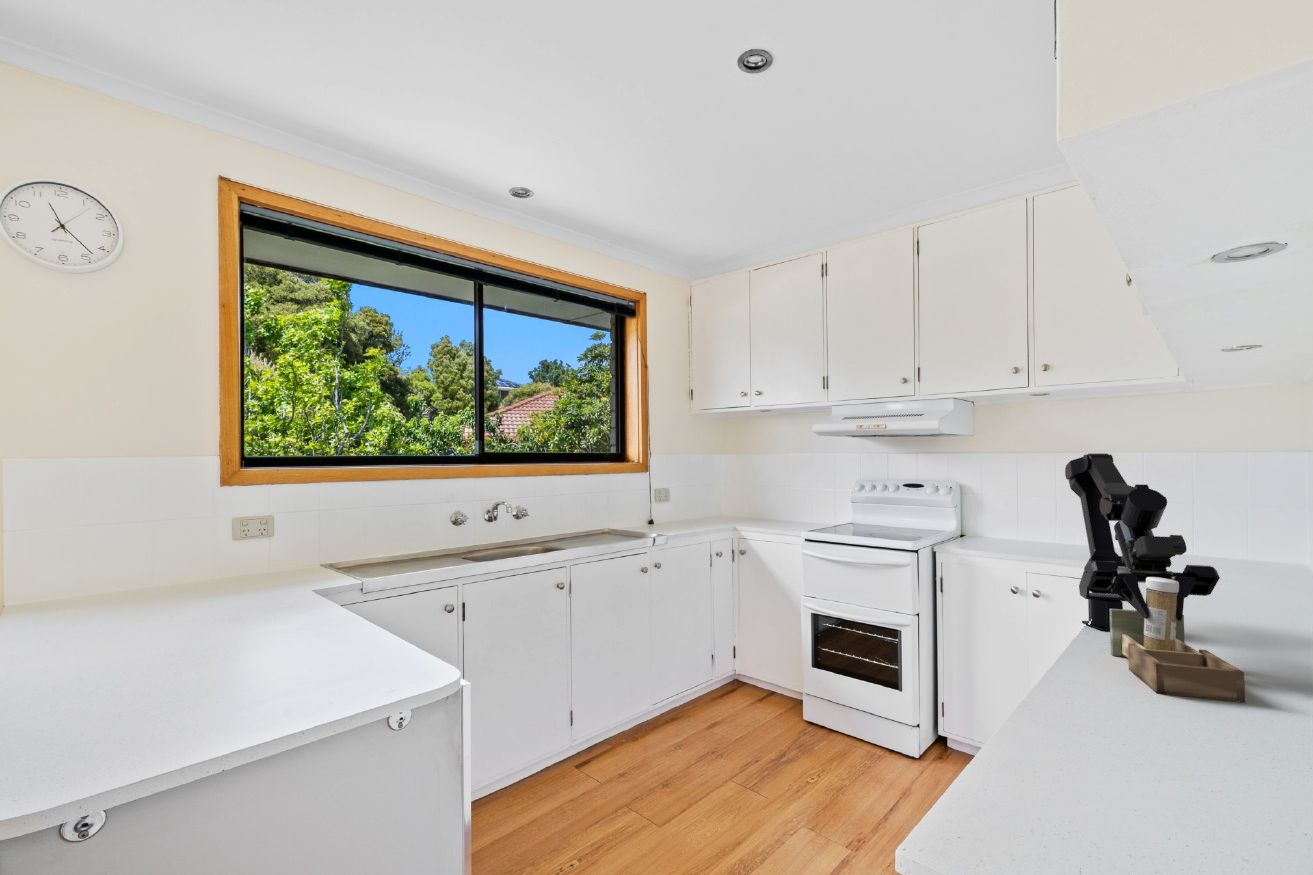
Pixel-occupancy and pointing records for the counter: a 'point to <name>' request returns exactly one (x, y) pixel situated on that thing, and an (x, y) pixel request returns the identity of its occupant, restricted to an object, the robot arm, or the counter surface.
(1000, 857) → the counter surface
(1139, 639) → the drawer
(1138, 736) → the counter surface
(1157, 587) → the spice jar
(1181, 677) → the walnut caddy
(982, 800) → the counter surface
